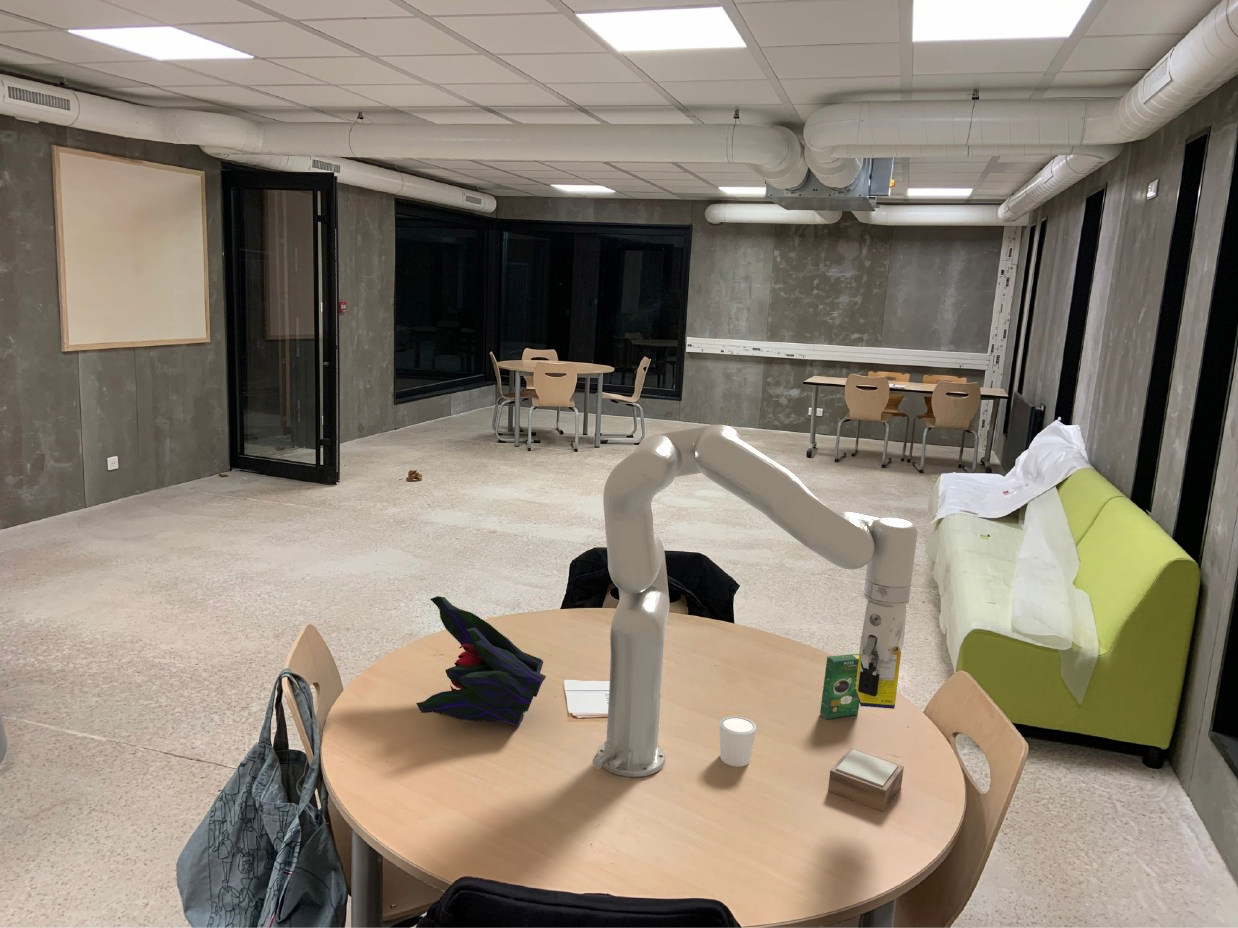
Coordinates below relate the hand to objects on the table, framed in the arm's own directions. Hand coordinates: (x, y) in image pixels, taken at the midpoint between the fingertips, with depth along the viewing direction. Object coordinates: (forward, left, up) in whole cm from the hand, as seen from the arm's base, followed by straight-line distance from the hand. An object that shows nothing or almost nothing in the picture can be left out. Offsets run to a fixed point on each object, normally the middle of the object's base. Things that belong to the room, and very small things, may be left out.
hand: (875, 684), depth 155 cm
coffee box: (+24, +14, -20) cm, 34 cm away
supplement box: (0, 0, -3) cm, 3 cm away
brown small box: (0, 0, -20) cm, 20 cm away
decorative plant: (-25, +73, -20) cm, 79 cm away
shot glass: (-6, +23, -20) cm, 31 cm away
